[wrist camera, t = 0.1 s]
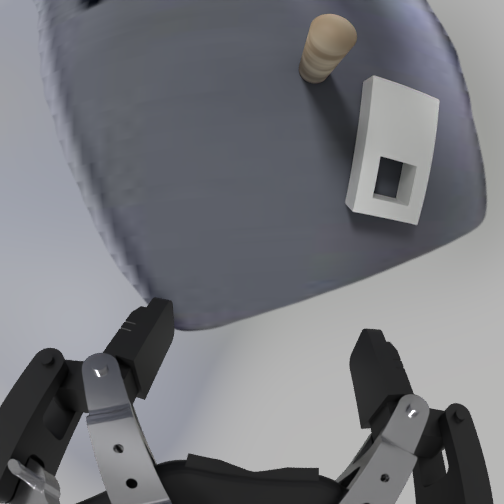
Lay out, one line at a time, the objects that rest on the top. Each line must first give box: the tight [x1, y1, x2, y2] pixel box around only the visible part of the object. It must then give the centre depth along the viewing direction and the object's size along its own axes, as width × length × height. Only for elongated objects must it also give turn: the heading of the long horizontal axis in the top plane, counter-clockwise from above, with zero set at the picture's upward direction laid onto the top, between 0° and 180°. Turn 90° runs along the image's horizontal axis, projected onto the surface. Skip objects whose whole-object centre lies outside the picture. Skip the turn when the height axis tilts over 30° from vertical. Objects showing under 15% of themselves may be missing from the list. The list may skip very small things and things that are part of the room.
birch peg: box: [299, 14, 357, 83], centre depth 23 cm, size 4×4×15 cm
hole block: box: [345, 75, 439, 225], centre depth 31 cm, size 18×10×4 cm, turn 174°
